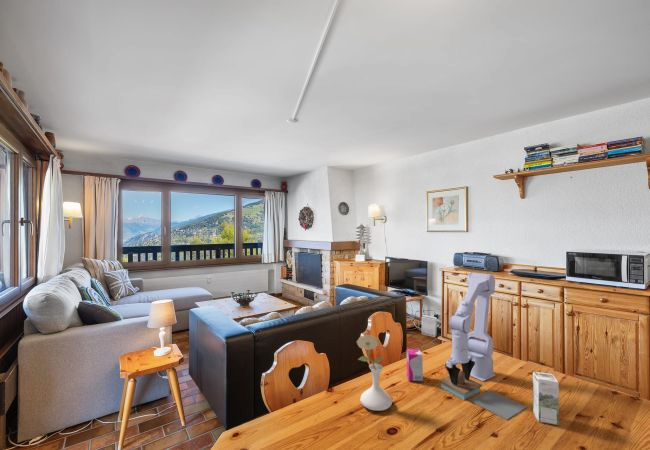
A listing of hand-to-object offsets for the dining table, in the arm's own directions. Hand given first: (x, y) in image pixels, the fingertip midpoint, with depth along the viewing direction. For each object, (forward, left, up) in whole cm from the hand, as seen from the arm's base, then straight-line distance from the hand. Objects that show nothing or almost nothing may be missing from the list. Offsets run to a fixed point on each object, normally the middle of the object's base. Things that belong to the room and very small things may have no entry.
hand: (460, 381), depth 118 cm
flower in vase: (+35, -11, -4) cm, 37 cm away
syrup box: (-8, +26, -4) cm, 27 cm away
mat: (-3, +13, -4) cm, 14 cm away
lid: (0, 0, -1) cm, 1 cm away
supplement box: (+8, -16, -4) cm, 18 cm away
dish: (0, 0, -4) cm, 4 cm away
